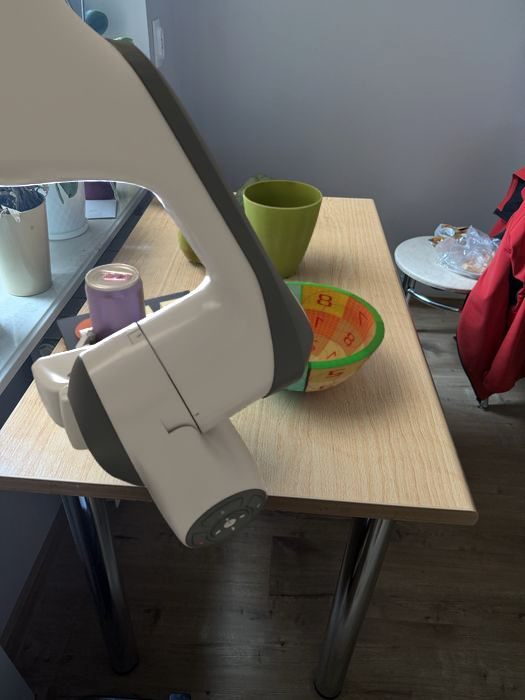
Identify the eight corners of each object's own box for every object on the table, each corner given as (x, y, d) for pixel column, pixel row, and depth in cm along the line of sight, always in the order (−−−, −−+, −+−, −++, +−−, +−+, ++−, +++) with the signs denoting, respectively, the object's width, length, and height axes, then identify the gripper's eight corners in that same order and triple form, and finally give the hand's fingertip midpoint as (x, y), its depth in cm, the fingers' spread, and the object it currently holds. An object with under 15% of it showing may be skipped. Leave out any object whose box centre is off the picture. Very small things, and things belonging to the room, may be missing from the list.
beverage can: (148, 402, 62) (134, 290, 53) (97, 400, 62) (75, 287, 53) (157, 371, 67) (146, 263, 58) (110, 369, 67) (92, 261, 58)
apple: (189, 246, 116) (187, 197, 109) (232, 252, 114) (232, 203, 108) (172, 266, 108) (168, 215, 102) (217, 273, 106) (216, 221, 100)
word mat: (72, 362, 81) (69, 351, 80) (56, 324, 90) (54, 313, 89) (215, 325, 91) (215, 314, 90) (189, 293, 99) (188, 283, 98)
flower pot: (323, 286, 103) (331, 206, 94) (247, 290, 101) (248, 209, 92) (306, 252, 115) (312, 179, 106) (238, 255, 113) (238, 180, 104)
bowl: (243, 325, 91) (243, 273, 85) (374, 341, 88) (384, 289, 82) (210, 412, 73) (208, 354, 67) (374, 436, 70) (386, 377, 64)
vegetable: (284, 200, 135) (304, 192, 120) (256, 241, 134) (273, 239, 120) (246, 170, 131) (261, 158, 117) (217, 213, 131) (229, 206, 116)
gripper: (255, 344, 53) (201, 283, 63) (42, 404, 45) (18, 324, 55) (254, 392, 57) (203, 328, 67) (56, 456, 49) (31, 372, 58)
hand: (118, 326), depth 61 cm, fingers closed on beverage can, 6 cm apart
